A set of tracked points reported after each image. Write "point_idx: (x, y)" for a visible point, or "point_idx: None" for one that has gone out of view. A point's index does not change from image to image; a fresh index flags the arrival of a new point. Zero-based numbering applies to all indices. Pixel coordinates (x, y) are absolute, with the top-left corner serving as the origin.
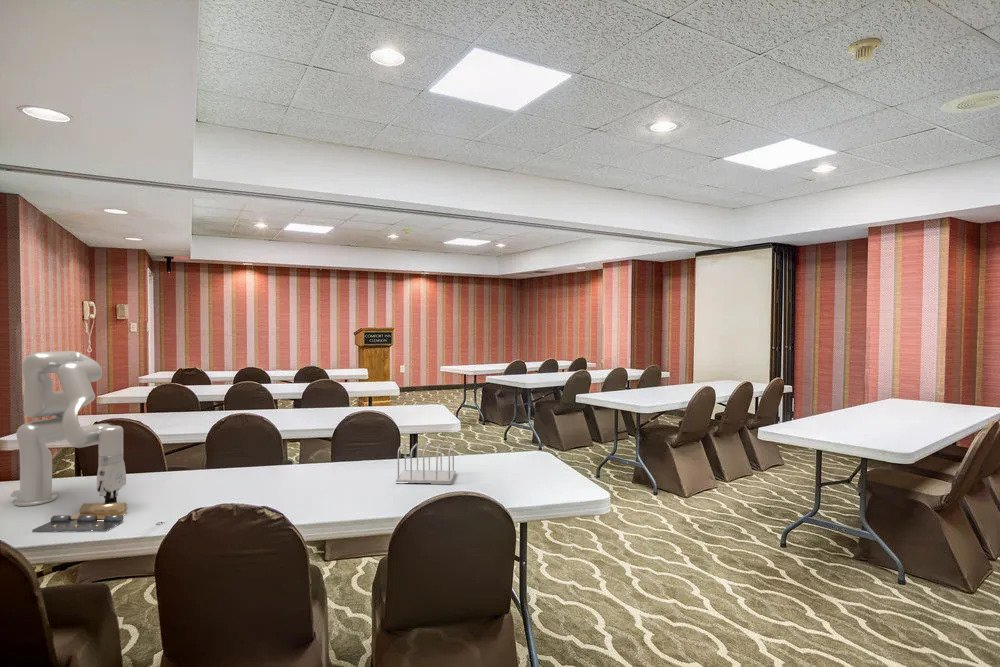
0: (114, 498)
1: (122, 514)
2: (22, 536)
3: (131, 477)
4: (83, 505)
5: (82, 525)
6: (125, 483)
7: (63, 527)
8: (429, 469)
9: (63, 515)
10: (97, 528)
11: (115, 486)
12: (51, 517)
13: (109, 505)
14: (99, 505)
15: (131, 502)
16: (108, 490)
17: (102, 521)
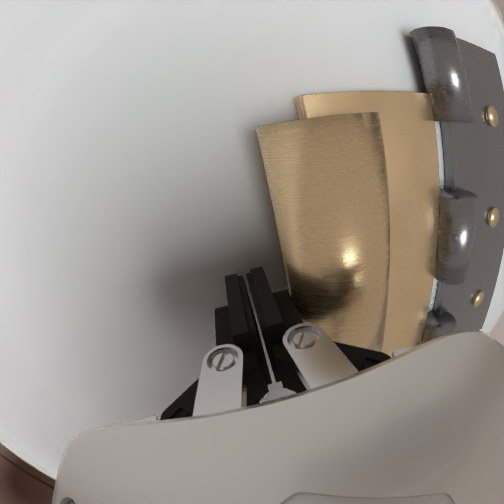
0: (269, 320)
1: (342, 92)
2: (494, 312)
3: (11, 443)
4: None
5: (489, 194)
6: (78, 446)
7: (493, 254)
8: None
9: None
10: (500, 96)
11: (403, 417)
12: None
13: (388, 229)
14: (384, 310)
15: (69, 304)
16: (493, 338)
17: (458, 133)
